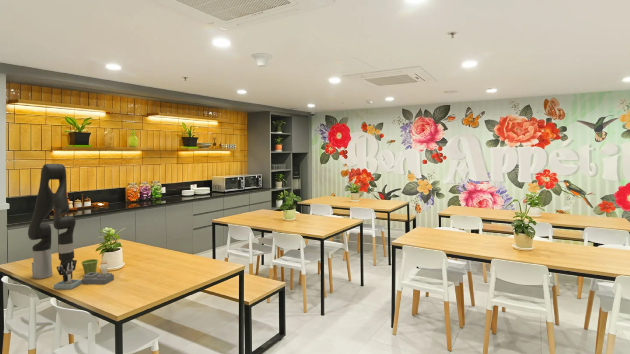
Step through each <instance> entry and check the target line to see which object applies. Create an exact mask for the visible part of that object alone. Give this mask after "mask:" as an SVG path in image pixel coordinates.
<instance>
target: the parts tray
mask: <svg viewBox="0 0 630 354" xmlns="http://www.w3.org/2000/svg"><path fill="white" fill-rule="evenodd" d="M71 282H72V283H71V284H65V282H64V281H63V279H62V280H61V281H57V283H54V284H53V290H73V289H75V288H77V287H79V286H81V285H83V284H82V279H73V278H72V279H71Z"/></svg>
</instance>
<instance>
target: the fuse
mask: <svg viewBox="0 0 630 354" xmlns="http://www.w3.org/2000/svg"><path fill="white" fill-rule="evenodd" d="M107 273H108V261H106V260H105V261H101V262H100V274H101V276H106V275H107Z"/></svg>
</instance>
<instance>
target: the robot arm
mask: <svg viewBox="0 0 630 354" xmlns="http://www.w3.org/2000/svg"><path fill="white" fill-rule="evenodd" d="M50 180H51V181H52V180H53V181H55V180H58V187H57V190H56V192H55V193H53V191H52V189H51V188H50V183H49V182H50ZM67 182H68V181H67V170H66V167H65V165H64V164H62V163H44V164H43V165H42V168H41V172H40V179H39V186H38V187H39V188H38V192H37V196H36V199H35V205H34V210H33V214H32V218H31V221H30V223H29V226H28V229H27V230H28V231H27V235H28V239H29V240H31V241H37V240H40V241H39V242H37V243H36V244H33V246H32V249H31V250H32V260H33V261H32V262H31V271H32V275H31V276H32V279H37V280H38V279H40V280H41V279H46V278H50V277H52V276H53V262H52V260H53V259H52V227H51V225H50V224H49V223H47V222H44V223H42V222H43V221H44V219H45V218H46V217H48V216H49V214H50V213H52V211H53V209H54V217H53V218H54V219H53V227H54V229H56V230H57V231H58V230H65V229H66V230H65V231H64V232H61V233H59V234H58V235H57V239H58V240H57V243H58V245H57V246H58V247H57V248H58V249H57V250H58V251H57V252H58V260H59V261H60V264H59V266H56V270H57V272H58V274H59V276H62V280H63V281H64V282H67V281H68V275H67V272H68V270H69V268H71V279H73V276H74V275H73V272H74V271H75V270H76V267H77V262H78V261H77V260H76V259H75V246H74V245H75V244H74V230H75V227H76V222H77V221H76V218H75V217H74V216H72V215H67V216H62V215H63V214H66V213H67V214H68V213H69V211H70V205H69V199H68V194H67V193H68V187H67V185H68V184H67ZM64 269H66V270H64ZM64 271H65V272H64Z"/></svg>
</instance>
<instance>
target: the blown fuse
mask: <svg viewBox="0 0 630 354" xmlns="http://www.w3.org/2000/svg"><path fill="white" fill-rule="evenodd" d="M64 270H66V269H64ZM64 272H65V271H64ZM67 275H68V281H67V282H65V284H71V283H72V282H71V268H69V270H68V272H67Z"/></svg>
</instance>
